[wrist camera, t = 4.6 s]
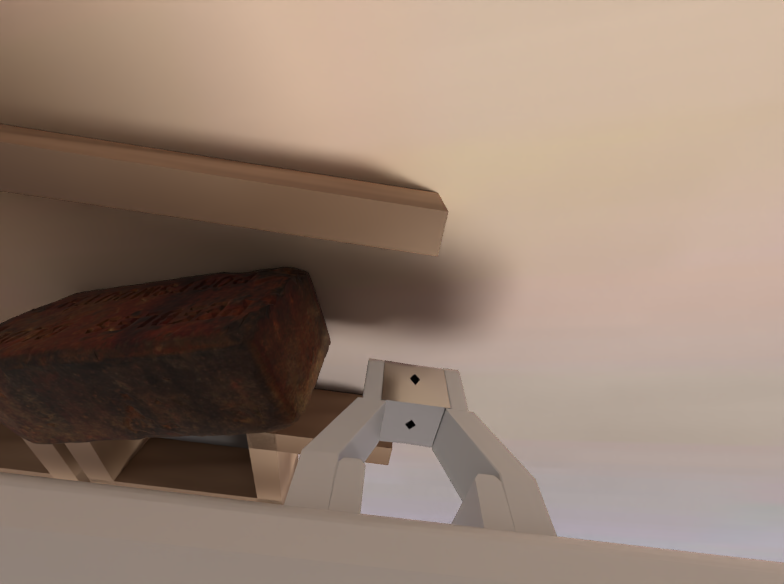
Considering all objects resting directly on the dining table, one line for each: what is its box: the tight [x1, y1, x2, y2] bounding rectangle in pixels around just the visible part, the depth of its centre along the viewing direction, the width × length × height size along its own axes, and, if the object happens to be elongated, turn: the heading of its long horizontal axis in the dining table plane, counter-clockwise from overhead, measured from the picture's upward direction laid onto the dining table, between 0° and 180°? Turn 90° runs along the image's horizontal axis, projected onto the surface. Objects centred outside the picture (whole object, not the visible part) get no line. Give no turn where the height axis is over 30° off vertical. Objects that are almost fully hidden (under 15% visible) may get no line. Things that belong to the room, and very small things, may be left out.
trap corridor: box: [0, 124, 448, 505], centre depth 12 cm, size 16×26×3 cm, turn 82°
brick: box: [0, 267, 331, 444], centre depth 10 cm, size 11×4×5 cm, turn 100°
